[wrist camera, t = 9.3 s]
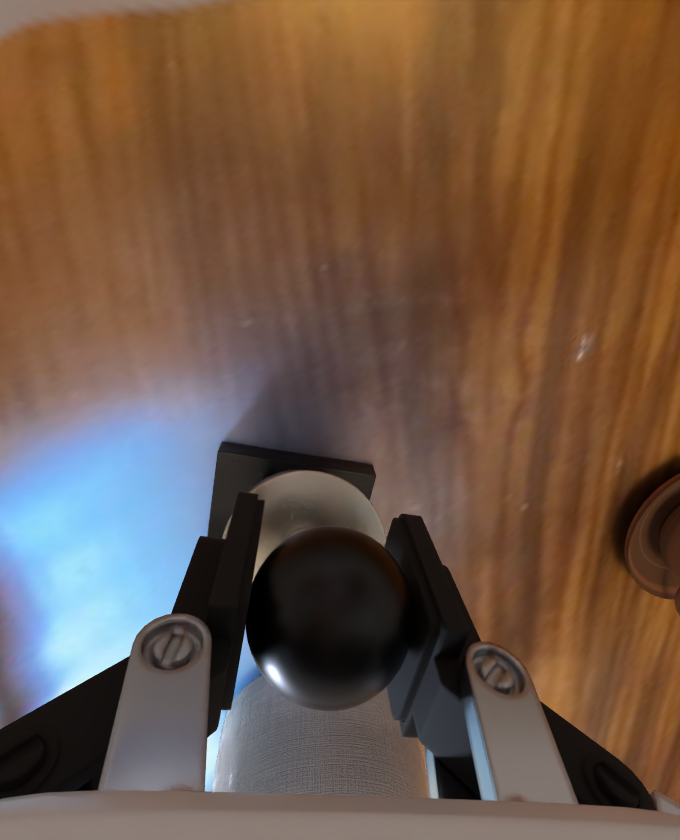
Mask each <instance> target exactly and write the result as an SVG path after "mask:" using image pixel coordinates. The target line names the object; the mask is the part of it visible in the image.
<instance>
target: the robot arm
mask: <svg viewBox="0 0 680 840" xmlns="http://www.w3.org/2000/svg"><path fill="white" fill-rule="evenodd" d="M264 505H265V500H259V499H258V494H254V493H247V492H240V491H239V492H238V496H237V499H236V503H235V507H234V510H233V514H232V518H231V521H230V525H229V529H228V532H227V536H226V539H221V538H213V537H205V536H200V537H199V539H198V542H197V544H196V547H195V550H194V553H193V555H192V558H191V561H190V564H189V566H188V569H187V572H186V575H185V577H184V580H183V583H182V586H181V588H180V591H179V594H178V596H177V599H176V602H175V605H174V607H173V610H172V613H171V614H169V615H164V616H162V617H159V618H157V619H154V620H153V621H151V622H150V623H148V624H147V625H146V626H144V627H143V629H142V630H141V631H140V632H139V633H138V634H137V636H136V638H135V641H134V643H133V645H132V650H131V654H130V656H129V657H127V658H125V659H124V660H122V661H120V662H118V663H117V664H115V665H113V666H111V667H109V668H108V669H106V670H104V671H102V672H101V673H99V674H97V675H95V676H94V677H92V678H90V679H88V680H87V681H85V682H83V683H81V684H79V685H78V686H76V687H74V688H72V689H71V690H69V691H67V692H65V693H64V694H62V695H60V696H58V697H56V698H55V699H53V700H51V701H49V702H48V703H46V704H44V705H42V706H41V707H39V708H37V709H35V710H34V711H32V712H30V713H28V714H26V715H25V716H23V717H21V718H19V719H18V720H16V721H14V722H12V723H11V724H9V725H7V726H5V727H4V728H2V729H0V840H680V804H678V803H677V802H675V801H673V800H671V799H670V798H668V797H666V796H664V795H662V794H661V793H659V792H657V791H655V790H654V791H653V792H652V793H651V794H649V793H648V791H647V790H646V788H645V787H644V785H643V784H642V782H641V781H640V780H639V779H638V778H637V776H636V775H635V774H634V773H633V772H632V771H631V770H630V769H629V768H628V767H627V766H626V765H624V764H623V763H622V762H621V761H620V760H619V759H617V758H616V757H615V756H613V755H612V754H611V753H609V752H608V751H606V750H605V749H604V748H602V747H601V746H600V745H598V744H597V743H596V742H594V741H593V740H592V739H590V738H589V737H588V736H586V735H585V734H584V733H582V732H581V731H580V730H578V729H577V728H576V727H574V726H573V725H572V724H570V723H569V722H567V721H566V720H565V719H563V718H562V717H561V716H559V715H558V714H557V713H555V712H554V711H553V710H551V709H550V708H549V707H547V706H546V705H545V704H543V703H542V702H541V701H540V700H539V698H538V695H537V692H536V690H535V687H534V684H533V682H532V679H531V677H530V675H529V673H528V671H527V669H526V667H525V666H524V665H523V664H522V663H521V661H520V660H519V659H518V658H517V657H516V656H515V655H513V654H512V653H511V652H510V651H508V650H507V649H505V648H503V647H501V646H500V645H497V644H494V643H491V642H482V641H481V640H480V638H479V636H478V634H477V631H476V629H475V627H474V625H473V622H472V620H471V618H470V616H469V613H468V611H467V609H466V607H465V605H464V602H463V600H462V598H461V596H460V593H459V591H458V589H457V587H456V584H455V582H454V580H453V578H452V575H451V573H450V571H449V569H448V568H447V567H446V566H445V565H442V563H441V561H440V558H439V556H438V554H437V551H436V549H435V547H434V544H433V542H432V540H431V538H430V535H429V533H428V531H427V528H426V526H425V524H424V521H423V519H422V517H421V516H415V515H408V514H401V515H400V516H399V518H394V519H393V520H392V523H391V526H390V530H389V533H388V536H387V540H386V543H385V546H384V547H385V548H386V549H387V550H388V551H389V552H390V553H391V555H392V556H393V557H394V558H395V559H396V561H397V562H398V564H399V565H400V567H401V569H402V571H403V573H404V575H405V577H406V579H407V582H408V584H409V587H410V591H411V594H412V599H413V606H414V630H413V636H412V641H411V645H410V648H409V651H408V654H407V656H406V658H405V660H404V663H403V665H402V666H401V668H400V670H399V672H398V673H397V675H396V676H395V677H394V679H393V680H392V681H391V682H390V684H389V685H388V686H387V692H388V698H389V703H390V708H391V713H392V717H393V719H394V720H399V722H400V727H401V732H402V737H411V738H418V739H419V741H420V742H421V743H422V744H423V745H424V746H425V761H426V771H427V780H428V790H429V798H406V797H376V796H345V795H313V794H276V793H238V792H204V791H205V770H206V750H207V737H209V736H210V735H211V734H212V733H213V732H215V731H216V730H217V727H218V724H219V719H220V713H221V710H231V707H232V701H233V695H234V689H235V684H236V678H237V672H238V666H239V660H240V654H241V648H242V643H243V637H244V631H245V625H246V619H247V613H248V607H249V601H250V595H251V588H252V582H253V575H254V569H255V563H256V556H257V550H258V543H259V537H260V531H261V524H262V518H263V512H264Z"/></svg>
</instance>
